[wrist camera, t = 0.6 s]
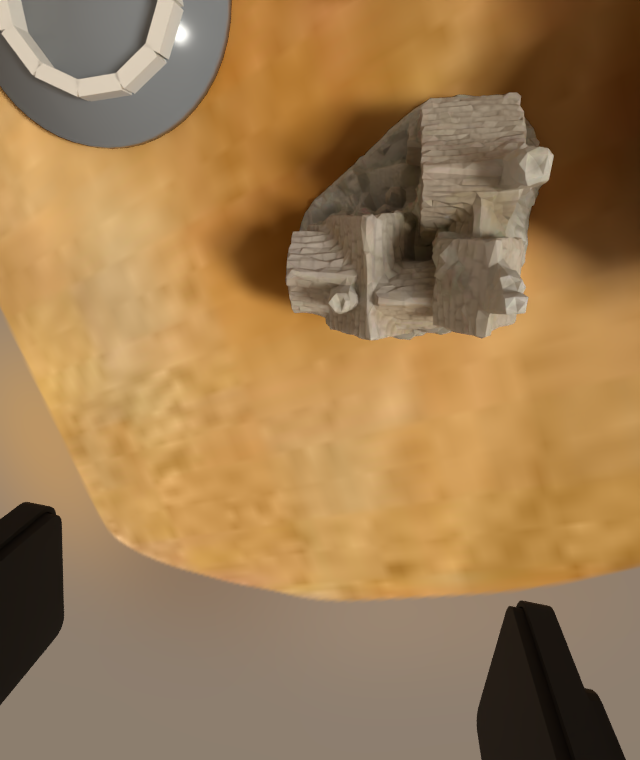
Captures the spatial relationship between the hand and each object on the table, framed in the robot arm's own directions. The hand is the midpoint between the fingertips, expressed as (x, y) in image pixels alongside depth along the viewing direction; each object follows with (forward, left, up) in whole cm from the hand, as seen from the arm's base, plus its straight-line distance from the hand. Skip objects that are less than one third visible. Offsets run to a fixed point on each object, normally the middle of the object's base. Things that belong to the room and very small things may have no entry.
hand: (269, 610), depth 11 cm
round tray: (+2, -28, -30) cm, 41 cm away
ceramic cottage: (-7, -4, -30) cm, 31 cm away
